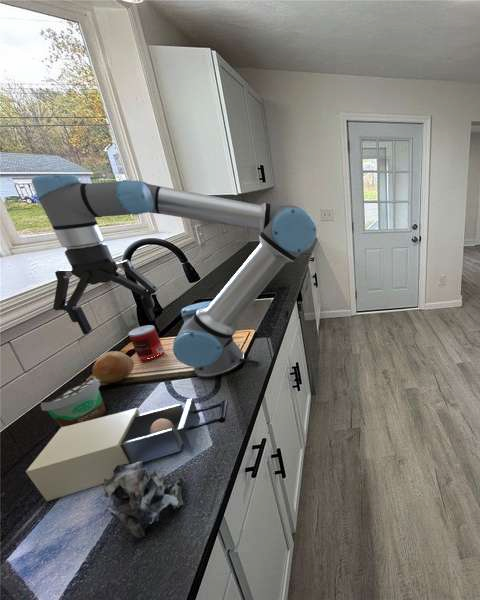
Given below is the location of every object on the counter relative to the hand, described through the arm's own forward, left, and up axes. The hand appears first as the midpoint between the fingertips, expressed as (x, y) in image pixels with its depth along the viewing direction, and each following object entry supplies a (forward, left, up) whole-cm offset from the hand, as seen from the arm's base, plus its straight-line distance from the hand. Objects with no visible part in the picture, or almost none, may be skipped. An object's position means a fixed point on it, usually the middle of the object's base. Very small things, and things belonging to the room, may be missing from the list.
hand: (121, 325), depth 82 cm
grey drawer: (-11, +21, -25) cm, 34 cm away
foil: (-8, +38, -26) cm, 46 cm away
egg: (-8, +21, -24) cm, 32 cm away
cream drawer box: (+5, +21, -25) cm, 33 cm away
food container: (+15, 0, -26) cm, 30 cm away
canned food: (+9, -33, -26) cm, 43 cm away
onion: (+15, -20, -26) cm, 36 cm away
